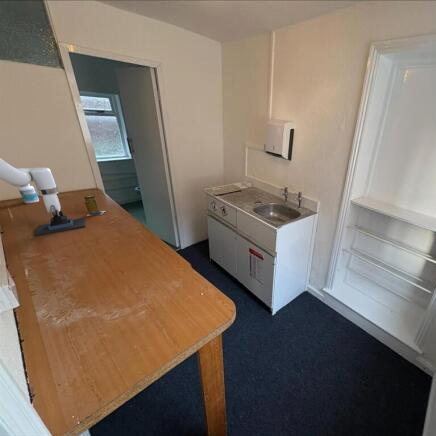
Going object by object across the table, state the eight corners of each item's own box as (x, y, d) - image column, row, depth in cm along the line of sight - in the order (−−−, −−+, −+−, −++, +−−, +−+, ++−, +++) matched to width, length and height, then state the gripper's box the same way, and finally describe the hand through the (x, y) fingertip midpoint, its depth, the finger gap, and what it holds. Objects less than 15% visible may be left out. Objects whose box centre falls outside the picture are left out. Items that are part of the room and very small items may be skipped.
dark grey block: (53, 228, 128) (50, 221, 126) (53, 225, 132) (50, 218, 130) (68, 225, 132) (66, 218, 130) (69, 222, 136) (66, 215, 134)
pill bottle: (25, 201, 165) (16, 183, 160) (39, 199, 170) (32, 181, 165) (24, 204, 160) (15, 185, 155) (39, 202, 165) (31, 184, 160)
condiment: (90, 212, 154) (85, 194, 149) (106, 211, 156) (101, 194, 151) (86, 216, 147) (80, 198, 142) (102, 215, 150) (96, 197, 145)
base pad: (35, 236, 122) (33, 231, 120) (38, 227, 131) (36, 222, 130) (85, 227, 134) (83, 222, 132) (84, 219, 143) (83, 214, 142)
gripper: (40, 188, 128) (51, 216, 134) (36, 196, 116) (48, 227, 122) (58, 186, 132) (68, 214, 139) (56, 194, 120) (68, 223, 127)
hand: (59, 220), depth 131 cm, fingers open, 9 cm apart
